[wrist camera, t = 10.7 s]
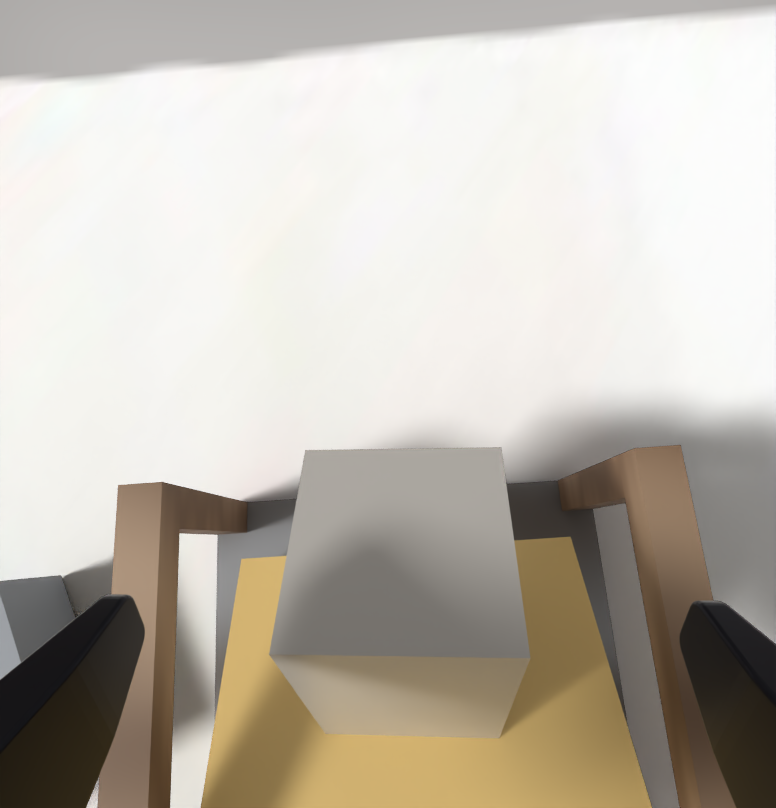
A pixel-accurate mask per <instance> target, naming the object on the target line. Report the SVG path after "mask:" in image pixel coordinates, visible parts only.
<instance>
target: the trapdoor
mask: <svg viewBox="0 0 776 808" xmlns="http://www.w3.org/2000/svg"><path fill="white" fill-rule="evenodd" d="M514 543H515V550H516V558H517V565H518V572H519V579H520V586H521V594H522V601H523V608H524V615H525V623H526V630H527V637H528V644H529V651H530V661H529V663H528V666H527V668H526V671H525V674H524V676H523V679H522V681H521V684H520V686H519V689H518V691H517V694H516V697H515V699H514V702H513V704H512V707H511V709H510V712H509V714H508V717H507V720H506V722H505V725H504V727H503V730H502V732H501V735H500V738H463V737H424V736H386V735H348V734H325V733H324V731H323V730H322V728H321V727H320V726H319V724H318V723H317V721H316V720H315V719H314V717H313V716H312V714H311V713H310V711H309V710H308V709H307V707H306V706H305V704H304V703H303V702H302V700H301V699H300V697H299V696H298V695H297V693H296V692H295V690H294V689H293V688H292V686H291V685H290V683H289V682H288V680H287V679H286V678H285V676H284V675H283V673H282V672H281V671H280V669H279V668H278V666H277V665H276V664H275V662H274V661H273V659H272V658H271V656H270V655H269V652H270V646H271V641H272V635H273V629H274V624H275V618H276V613H277V607H278V601H279V596H280V590H281V584H282V579H283V573H284V568H285V562H286V556H276V557H261V558H247V559H241V565H240V571H239V577H238V583H237V589H236V595H235V601H234V607H233V614H232V620H231V626H230V632H229V638H228V644H227V650H226V656H225V662H224V669H223V675H222V681H221V687H220V693H219V699H218V705H217V711H216V717H215V724H214V730H213V736H212V742H211V748H210V754H209V760H208V766H207V773H206V779H205V785H204V791H203V797H202V803H201V808H652V806H651V802H650V799H649V796H648V793H647V789H646V786H645V783H644V779H643V776H642V773H641V769H640V766H639V763H638V759H637V756H636V753H635V749H634V746H633V743H632V739H631V736H630V733H629V729H628V726H627V723H626V719H625V716H624V713H623V709H622V706H621V703H620V699H619V696H618V693H617V689H616V686H615V683H614V680H613V676H612V673H611V670H610V666H609V663H608V660H607V656H606V653H605V650H604V646H603V643H602V640H601V636H600V633H599V630H598V626H597V623H596V620H595V616H594V613H593V610H592V606H591V603H590V600H589V596H588V593H587V590H586V586H585V583H584V580H583V576H582V573H581V570H580V567H579V563H578V560H577V557H576V553H575V550H574V547H573V543H572V540H571V537H558V538H544V539H529V540H514Z"/></svg>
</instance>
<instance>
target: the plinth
mask: <svg viewBox="0 0 776 808" xmlns="http://www.w3.org/2000/svg"><path fill="white" fill-rule="evenodd" d="M74 619H75V615H74V612H73V609H72V607H71V604H70V601H69V598H68V595H67V592H66V589H65V586H64V583H63V580H62V577H61V575H59V576H49V577H38V578H28V579H17V580H7V581H0V679H1V678H3V677H4V676H5V675H6V674H7V673H9V672H10V671H11V670H12V669H14V668H15V667H16V666H17V665H19V664H20V663H21V662H22V661H23V660H25V659H26V658H27V657H28V656H30V655H31V654H32V653H33V652H34V651H36V650H37V649H38V648H39V647H41V646H42V645H43V644H44V643H46V642H47V641H48V640H49V639H50V638H52V637H53V636H54V635H55V634H57V633H58V632H59V631H60V630H61V629H63V628H64V627H65V626H66V625H68V624H69V623H70V622H71V621H73V620H74Z"/></svg>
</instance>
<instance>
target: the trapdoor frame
mask: <svg viewBox="0 0 776 808" xmlns="http://www.w3.org/2000/svg"><path fill="white" fill-rule="evenodd" d="M506 485H507V493H508V500H509V507H510V514H511V521H512V529H513V536H514V540H529V539H544V538H558V537H571V540H572V543H573V547H574V550H575V553H576V557H577V560H578V563H579V567H580V570H581V573H582V576H583V580H584V583H585V586H586V590H587V593H588V596H589V600H590V603H591V606H592V610H593V613H594V616H595V620H596V623H597V626H598V630H599V633H600V636H601V640H602V643H603V646H604V650H605V653H606V656H607V660H608V663H609V666H610V670H611V673H612V676H613V680H614V683H615V686H616V689H617V693H618V696H619V699H620V703H621V706H622V709H623V713H624V716H625V719H626V713H625V707H624V700H623V694H622V688H621V682H620V676H619V669H618V663H617V657H616V651H615V645H614V638H613V632H612V626H611V620H610V614H609V607H608V601H607V595H606V589H605V583H604V576H603V570H602V564H601V558H600V552H599V545H598V539H597V533H596V527H595V521H594V514H593V509H595V508H600V507H606V506H611V505H617V504H622V503H626V507H627V513H628V518H629V524H630V530H631V535H632V541H633V546H634V552H635V558H636V563H637V569H638V575H639V580H640V586H641V592H642V597H643V603H644V608H645V614H646V620H647V625H648V631H649V637H650V642H651V648H652V653H653V659H654V665H655V670H656V676H657V682H658V687H659V693H660V699H661V704H662V710H663V715H664V721H665V727H666V732H667V738H668V744H669V749H670V755H671V761H672V766H673V772H674V777H675V783H676V789H677V794H678V800H679V806H680V808H736V806H735V804H734V802H733V799H732V797H731V795H730V792H729V790H728V787H727V785H726V783H725V780H724V778H723V775H722V773H721V771H720V768H719V766H718V763H717V761H716V758H715V756H714V753H713V750H712V747H711V744H710V741H709V739H708V736H707V732H706V729H705V726H704V723H703V720H702V716H701V713H700V710H699V707H698V703H697V700H696V697H695V694H694V691H693V687H692V684H691V681H690V678H689V674H688V671H687V668H686V665H685V661H684V658H683V655H682V652H681V648H680V643H679V636H680V631H681V629H682V626H683V623H684V621H685V618H686V616H687V613H688V611H689V608H690V606H691V604H692V603H693V602H694V601H698V600H712V601H713V597H712V592H711V588H710V583H709V578H708V573H707V568H706V564H705V559H704V554H703V549H702V545H701V540H700V535H699V530H698V525H697V521H696V516H695V511H694V506H693V502H692V497H691V492H690V487H689V483H688V478H687V473H686V468H685V463H684V459H683V454H682V449H681V445H673V446H659V447H645V448H634V449H632V450H629V451H627V452H624V453H622V454H620V455H617V456H615V457H613V458H610V459H608V460H605V461H603V462H601V463H598V464H596V465H594V466H591V467H589V468H586V469H584V470H582V471H579V472H577V473H575V474H572V475H570V476H567V477H565V478H563V479H560V480H558V481H545V482H531V483H517V484H506ZM296 500H297V499H289V500H274V501H260V502H243V501H239V500H235V499H231V498H227V497H223V496H218V495H214V494H210V493H206V492H202V491H197V490H193V489H189V488H185V487H181V486H176V485H172V484H168V483H164V482H156V483H142V484H128V485H118V497H117V512H116V528H115V543H114V559H113V574H112V590H111V594H127V595H130V596H131V597H133V599H134V601H135V603H136V606H137V608H138V611H139V613H140V616H141V618H142V621H143V623H144V627H145V638H144V642H143V646H142V649H141V652H140V656H139V659H138V662H137V666H136V669H135V672H134V675H133V679H132V682H131V685H130V689H129V692H128V695H127V699H126V702H125V705H124V709H123V712H122V715H121V718H120V722H119V725H118V728H117V731H116V734H115V737H114V740H113V742H112V745H111V747H110V750H109V753H108V755H107V758H106V760H105V762H104V765H103V767H102V770H101V772H100V776H99V792H98V807H97V808H170V791H171V762H172V732H173V703H174V674H175V645H176V616H177V587H178V557H179V533H187V534H214V535H218V549H217V610H216V672H215V717H216V711H217V705H218V699H219V693H220V687H221V681H222V675H223V669H224V662H225V656H226V650H227V644H228V638H229V632H230V626H231V620H232V614H233V607H234V601H235V595H236V589H237V583H238V577H239V571H240V565H241V559H247V558H261V557H276V556H287V551H288V545H289V540H290V534H291V528H292V523H293V517H294V511H295V506H296ZM626 723H627V719H626ZM627 726H628V725H627Z"/></svg>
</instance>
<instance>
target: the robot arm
mask: <svg viewBox="0 0 776 808" xmlns="http://www.w3.org/2000/svg"><path fill="white" fill-rule="evenodd" d="M144 638H145V627H144V623H143V621H142V618H141V616H140V613H139V611H138V608H137V606H136V603H135V601H134V599H133V597H131V596H130V595H127V594H109V595H105V596H103V597H101V598H100V599H98V600H97V601H96V602H95V603H93V604H92V605H91V606H90V607H88V608H87V609H86V610H85V611H84V612H82V613H81V614H80V615H79V616H77V617H76V618H75V619H74V620H73V621H71V622H70V623H69V624H68V625H66V626H65V627H64V628H63V629H61V630H60V631H59V632H58V633H57V634H55V635H54V636H53V637H52V638H50V639H49V640H48V641H47V642H46V643H44V644H43V645H42V646H41V647H39V648H38V649H37V650H36V651H34V652H33V653H32V654H31V655H30V656H28V657H27V658H26V659H25V660H23V661H22V662H21V663H20V664H19V665H17V666H16V667H15V668H14V669H12V670H11V671H10V672H9V673H7V674H6V675H5V676H4V677H3V678H1V679H0V808H86V806H87V804H88V801H89V799H90V797H91V794H92V792H93V789H94V787H95V784H96V782H97V779H98V777H99V775H100V772H101V770H102V767H103V765H104V762H105V760H106V758H107V755H108V753H109V750H110V747H111V745H112V742H113V740H114V737H115V734H116V731H117V728H118V725H119V722H120V718H121V715H122V712H123V709H124V705H125V702H126V699H127V695H128V692H129V689H130V685H131V682H132V679H133V675H134V672H135V669H136V666H137V662H138V659H139V656H140V652H141V649H142V646H143V642H144ZM679 643H680V648H681V652H682V655H683V658H684V661H685V665H686V668H687V671H688V674H689V678H690V681H691V684H692V687H693V691H694V694H695V697H696V700H697V703H698V707H699V710H700V713H701V716H702V720H703V723H704V726H705V729H706V732H707V736H708V739H709V741H710V744H711V747H712V750H713V753H714V756H715V758H716V761H717V763H718V766H719V768H720V771H721V773H722V775H723V778H724V780H725V783H726V785H727V787H728V790H729V792H730V795H731V797H732V799H733V802H734V804H735V806H736V808H776V644H775V643H774V642H773V641H771V640H770V639H769V638H768V637H767V636H765V635H764V634H763V633H762V632H760V631H759V630H758V629H757V628H755V627H754V626H753V625H752V624H750V623H749V622H748V621H747V620H746V619H744V618H743V617H742V616H741V615H739V614H738V613H737V612H736V611H734V610H733V609H732V608H731V607H729V606H728V605H727V604H725V603H723V602H721V601H712V600H698V601H694V602H693V603H692V604H691V606H690V608H689V611H688V613H687V616H686V618H685V621H684V623H683V626H682V629H681V631H680V636H679Z"/></svg>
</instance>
